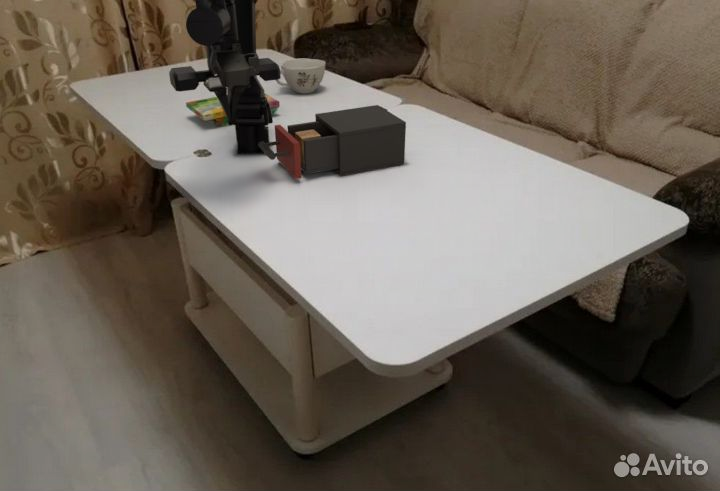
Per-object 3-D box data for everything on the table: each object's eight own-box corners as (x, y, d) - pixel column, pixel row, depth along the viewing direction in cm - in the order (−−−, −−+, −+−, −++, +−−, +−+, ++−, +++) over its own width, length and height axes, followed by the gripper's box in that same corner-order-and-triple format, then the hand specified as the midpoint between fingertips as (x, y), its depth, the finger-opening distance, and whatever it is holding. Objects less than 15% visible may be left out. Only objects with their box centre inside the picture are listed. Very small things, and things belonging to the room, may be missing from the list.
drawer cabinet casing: (340, 176, 118) (339, 132, 114) (316, 154, 128) (315, 113, 124) (404, 164, 124) (406, 122, 119) (377, 144, 134) (377, 104, 129)
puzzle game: (278, 97, 148) (201, 111, 139) (280, 116, 151) (204, 130, 141) (259, 86, 157) (185, 99, 147) (260, 104, 159) (188, 117, 150)
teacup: (314, 82, 178) (313, 55, 173) (334, 93, 168) (333, 64, 164) (268, 89, 171) (265, 61, 167) (285, 101, 162) (283, 71, 158)
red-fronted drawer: (274, 183, 114) (271, 147, 110) (257, 162, 122) (253, 128, 119) (358, 167, 120) (358, 133, 116) (336, 148, 129) (335, 116, 125)
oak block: (321, 161, 120) (320, 135, 117) (303, 164, 119) (301, 138, 116) (314, 154, 123) (313, 129, 120) (296, 157, 122) (294, 132, 119)
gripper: (174, 47, 92) (189, 142, 100) (287, 36, 99) (293, 126, 107) (162, 34, 101) (176, 122, 109) (267, 25, 108) (273, 109, 116)
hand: (230, 120), depth 110 cm, fingers closed
